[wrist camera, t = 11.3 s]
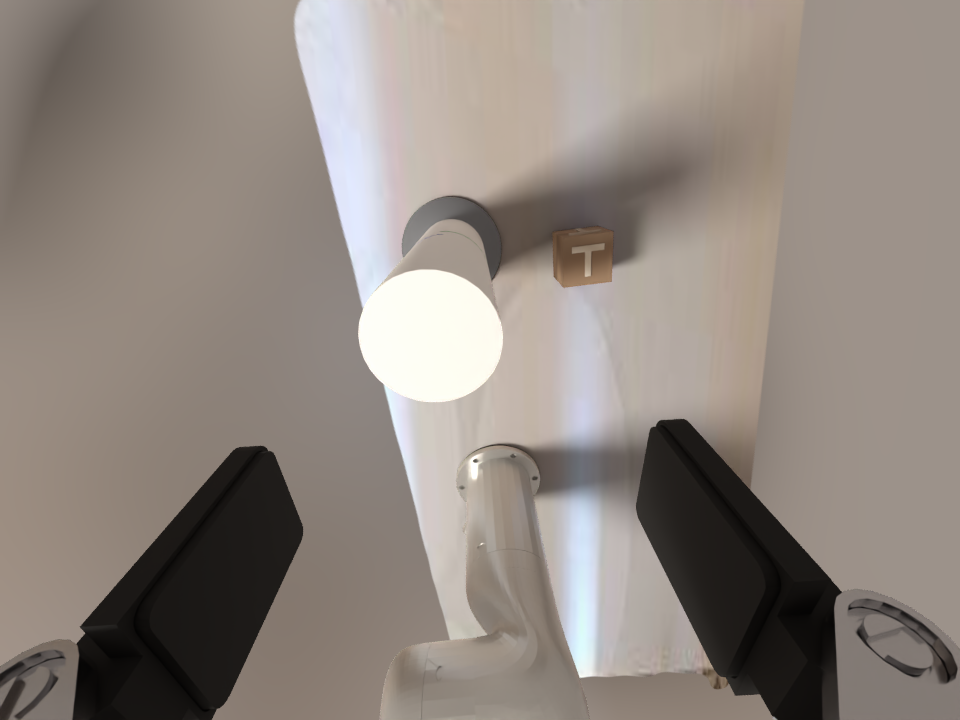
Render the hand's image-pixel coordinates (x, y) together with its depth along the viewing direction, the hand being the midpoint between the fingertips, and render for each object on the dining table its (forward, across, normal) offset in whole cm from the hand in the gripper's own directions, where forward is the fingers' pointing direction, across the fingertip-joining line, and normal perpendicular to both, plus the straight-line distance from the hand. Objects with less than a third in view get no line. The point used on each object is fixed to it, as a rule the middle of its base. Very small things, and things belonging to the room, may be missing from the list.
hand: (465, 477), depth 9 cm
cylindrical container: (+35, +2, 0) cm, 35 cm away
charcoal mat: (+35, +2, 0) cm, 35 cm away
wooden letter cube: (+35, -12, +1) cm, 37 cm away
